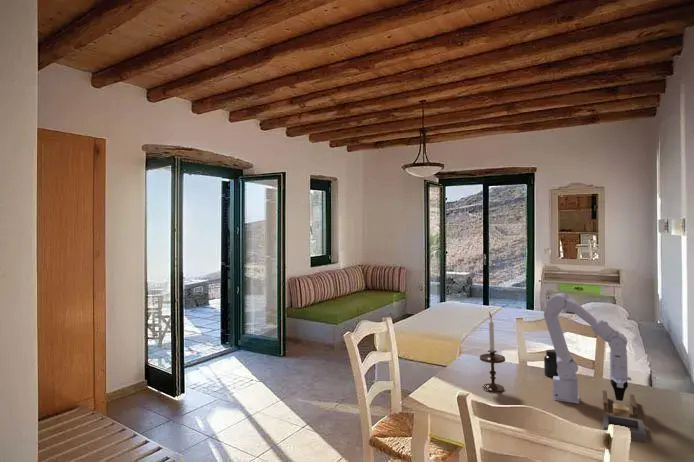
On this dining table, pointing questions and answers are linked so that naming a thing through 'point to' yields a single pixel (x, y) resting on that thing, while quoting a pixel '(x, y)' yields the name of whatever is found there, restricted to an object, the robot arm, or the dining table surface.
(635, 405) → the walnut channel
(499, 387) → the candlestick
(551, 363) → the supplement bottle
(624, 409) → the oak block
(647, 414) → the dining table surface
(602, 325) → the robot arm
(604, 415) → the trap pit
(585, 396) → the dining table surface
